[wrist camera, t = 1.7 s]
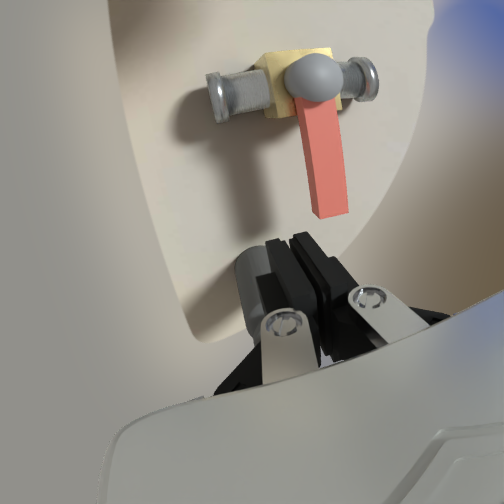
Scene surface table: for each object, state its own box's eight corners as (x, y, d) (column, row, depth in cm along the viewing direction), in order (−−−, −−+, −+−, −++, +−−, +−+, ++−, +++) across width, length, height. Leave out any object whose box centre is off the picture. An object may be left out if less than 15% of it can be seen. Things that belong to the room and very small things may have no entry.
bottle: (226, 278, 36) (241, 371, 23) (248, 237, 34) (277, 320, 21) (267, 293, 38) (299, 383, 25) (290, 255, 36) (337, 338, 23)
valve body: (204, 73, 26) (204, 63, 20) (350, 56, 26) (377, 48, 21) (216, 127, 28) (219, 130, 23) (359, 105, 29) (388, 106, 24)
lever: (279, 61, 21) (289, 54, 18) (323, 57, 21) (338, 52, 18) (306, 213, 27) (317, 225, 24) (345, 204, 27) (359, 215, 25)
